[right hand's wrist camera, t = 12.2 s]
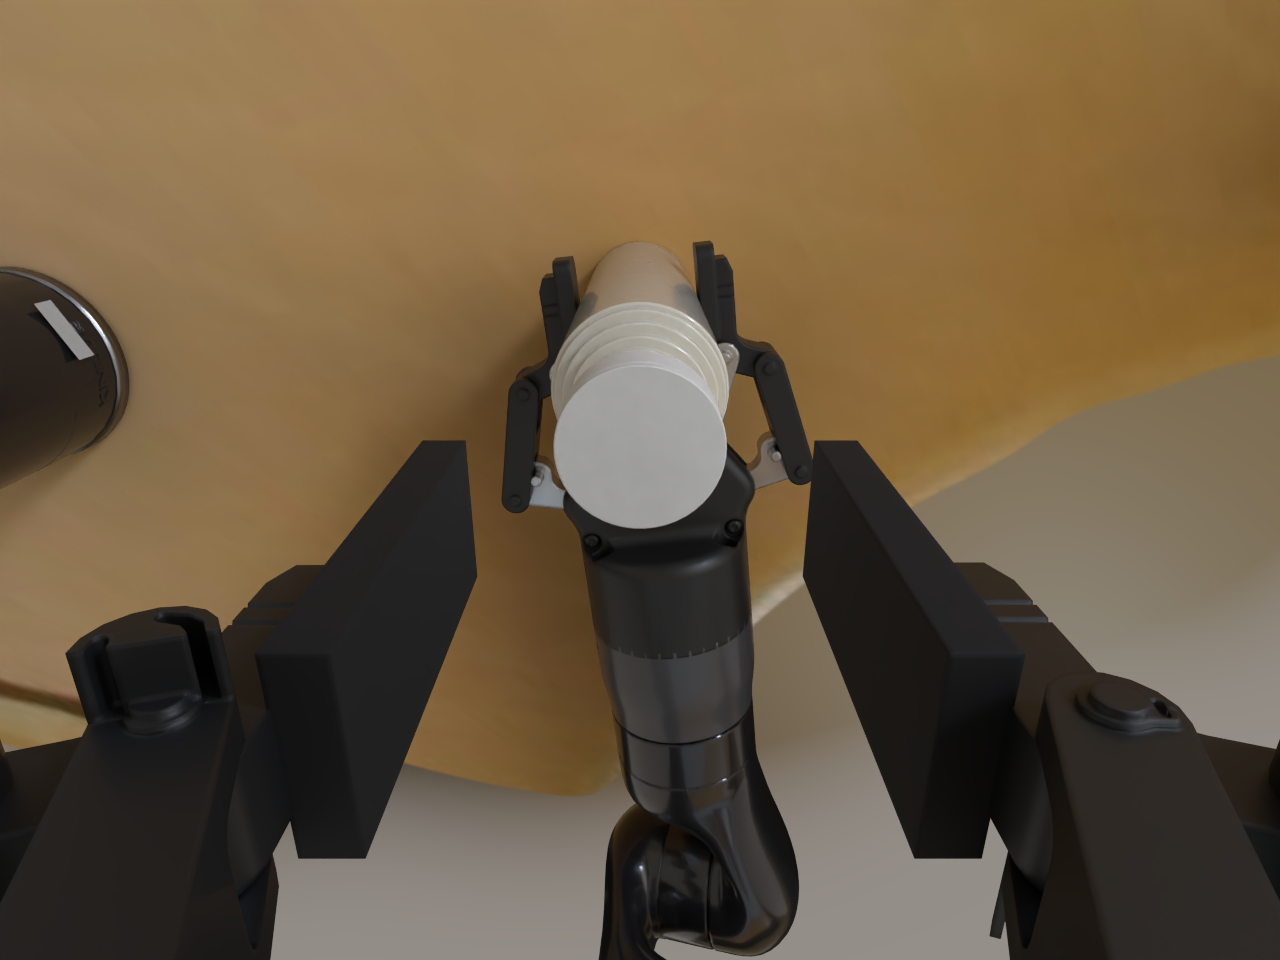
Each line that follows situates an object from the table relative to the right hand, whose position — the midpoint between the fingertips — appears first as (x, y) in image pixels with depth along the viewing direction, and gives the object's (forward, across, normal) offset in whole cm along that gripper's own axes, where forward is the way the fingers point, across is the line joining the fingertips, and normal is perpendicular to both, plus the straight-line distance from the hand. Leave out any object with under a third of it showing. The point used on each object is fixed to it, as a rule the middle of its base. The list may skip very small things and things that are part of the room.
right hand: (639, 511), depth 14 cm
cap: (+4, 0, 0) cm, 4 cm away
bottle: (+26, 0, 0) cm, 26 cm away
